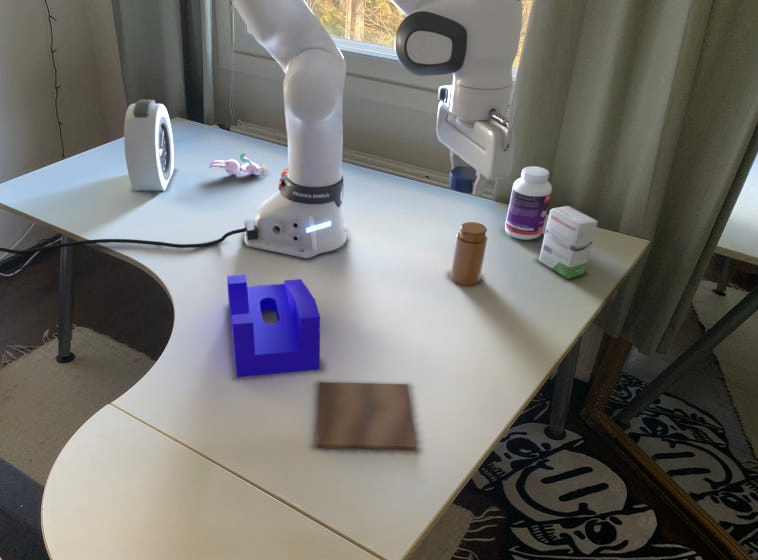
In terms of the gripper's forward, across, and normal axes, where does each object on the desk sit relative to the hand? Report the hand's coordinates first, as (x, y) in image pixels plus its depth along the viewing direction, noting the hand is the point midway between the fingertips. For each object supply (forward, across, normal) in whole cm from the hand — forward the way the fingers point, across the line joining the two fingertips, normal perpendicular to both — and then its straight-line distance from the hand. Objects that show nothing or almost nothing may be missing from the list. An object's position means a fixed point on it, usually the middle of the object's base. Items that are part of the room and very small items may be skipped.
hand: (466, 185), depth 112 cm
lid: (-2, 0, 0) cm, 2 cm away
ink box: (+24, +6, -28) cm, 37 cm away
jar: (+23, +7, -7) cm, 25 cm away
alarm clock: (+23, +74, +49) cm, 91 cm away
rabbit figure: (+23, +72, +27) cm, 80 cm away
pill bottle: (+23, +21, -28) cm, 42 cm away
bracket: (+23, -2, +35) cm, 42 cm away
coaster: (+23, -26, +26) cm, 44 cm away
